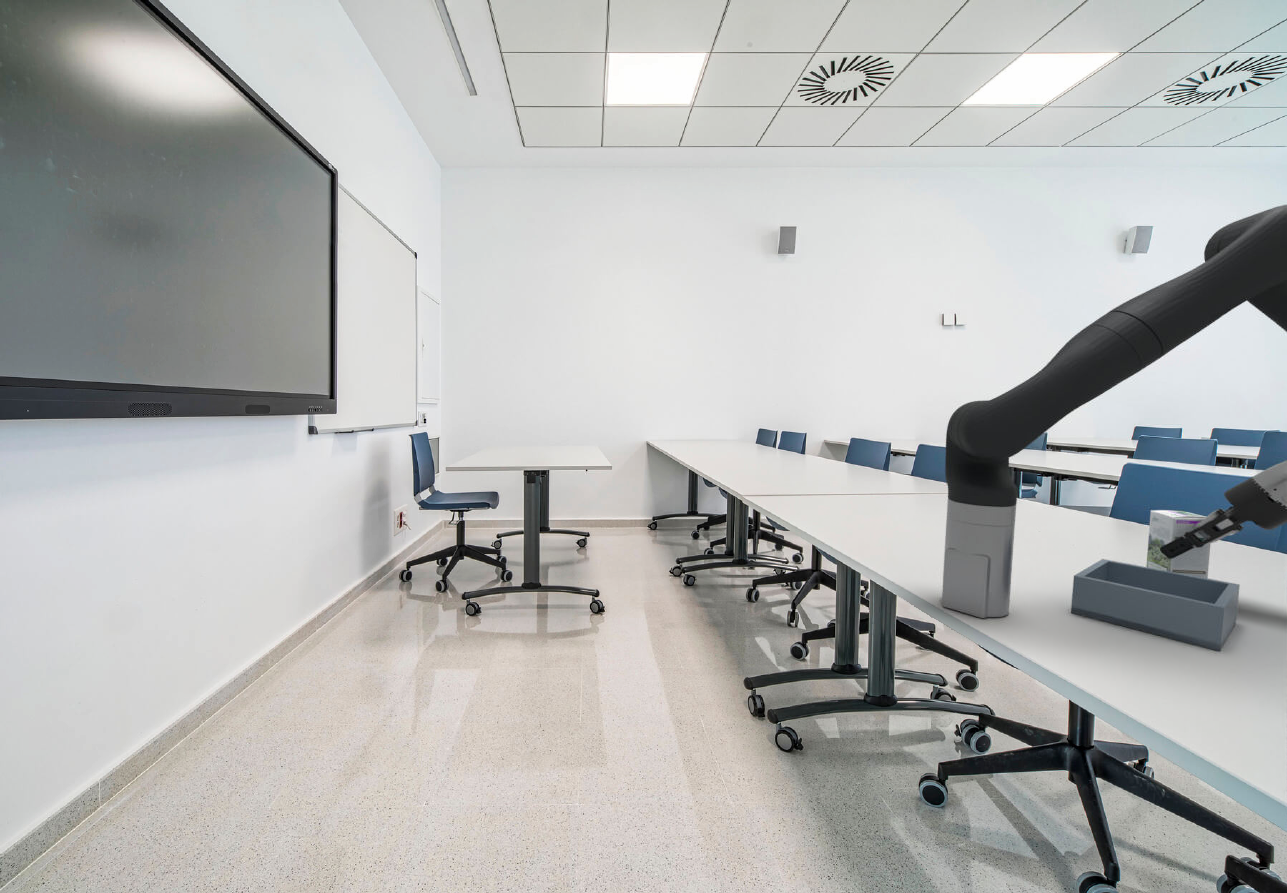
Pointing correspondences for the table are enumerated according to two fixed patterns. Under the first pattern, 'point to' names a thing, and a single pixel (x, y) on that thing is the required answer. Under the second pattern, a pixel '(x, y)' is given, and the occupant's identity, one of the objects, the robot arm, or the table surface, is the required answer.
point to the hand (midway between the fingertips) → (1169, 550)
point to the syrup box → (1168, 529)
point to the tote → (1157, 602)
